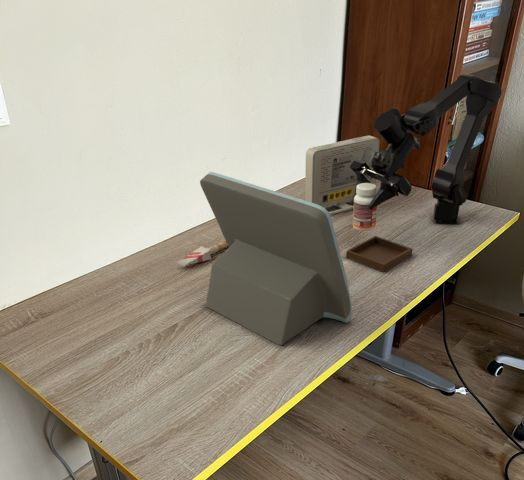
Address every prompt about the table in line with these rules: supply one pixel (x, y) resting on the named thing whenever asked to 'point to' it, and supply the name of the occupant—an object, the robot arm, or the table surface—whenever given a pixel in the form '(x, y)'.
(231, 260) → the touchscreen device
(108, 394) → the table surface
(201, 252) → the chopstick bundle
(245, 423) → the table surface
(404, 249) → the walnut tray
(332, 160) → the network device
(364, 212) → the pill bottle
